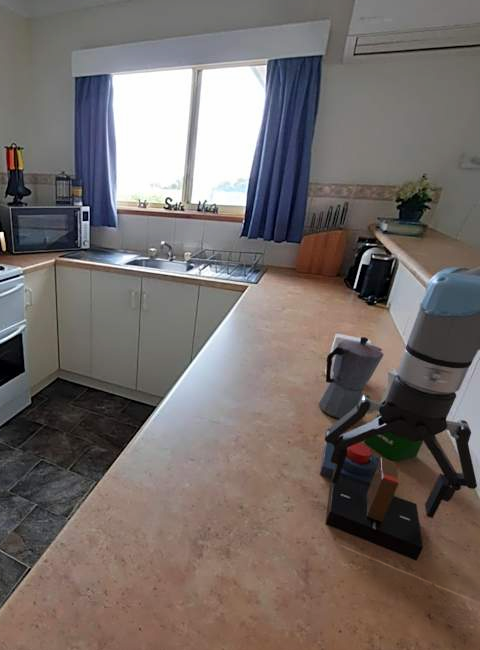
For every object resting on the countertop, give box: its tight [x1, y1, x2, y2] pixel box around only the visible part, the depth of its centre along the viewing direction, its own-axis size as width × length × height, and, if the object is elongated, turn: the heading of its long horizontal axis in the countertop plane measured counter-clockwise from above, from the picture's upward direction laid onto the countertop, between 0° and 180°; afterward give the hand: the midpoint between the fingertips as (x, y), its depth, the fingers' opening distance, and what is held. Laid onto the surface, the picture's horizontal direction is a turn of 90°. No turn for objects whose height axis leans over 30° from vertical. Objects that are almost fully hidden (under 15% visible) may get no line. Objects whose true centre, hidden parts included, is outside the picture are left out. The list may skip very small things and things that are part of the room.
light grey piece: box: [324, 333, 372, 379], centre depth 114 cm, size 9×9×12 cm
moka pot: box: [318, 336, 384, 420], centre depth 95 cm, size 10×15×20 cm, turn 112°
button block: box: [319, 441, 381, 487], centre depth 78 cm, size 11×9×4 cm
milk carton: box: [363, 369, 424, 463], centre depth 82 cm, size 9×9×20 cm
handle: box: [367, 457, 399, 522], centre depth 65 cm, size 6×2×8 cm, turn 151°
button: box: [347, 442, 372, 464], centre depth 77 cm, size 4×4×2 cm
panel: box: [325, 477, 424, 561], centre depth 67 cm, size 13×10×3 cm
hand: (379, 494), depth 66 cm, fingers open, 13 cm apart
